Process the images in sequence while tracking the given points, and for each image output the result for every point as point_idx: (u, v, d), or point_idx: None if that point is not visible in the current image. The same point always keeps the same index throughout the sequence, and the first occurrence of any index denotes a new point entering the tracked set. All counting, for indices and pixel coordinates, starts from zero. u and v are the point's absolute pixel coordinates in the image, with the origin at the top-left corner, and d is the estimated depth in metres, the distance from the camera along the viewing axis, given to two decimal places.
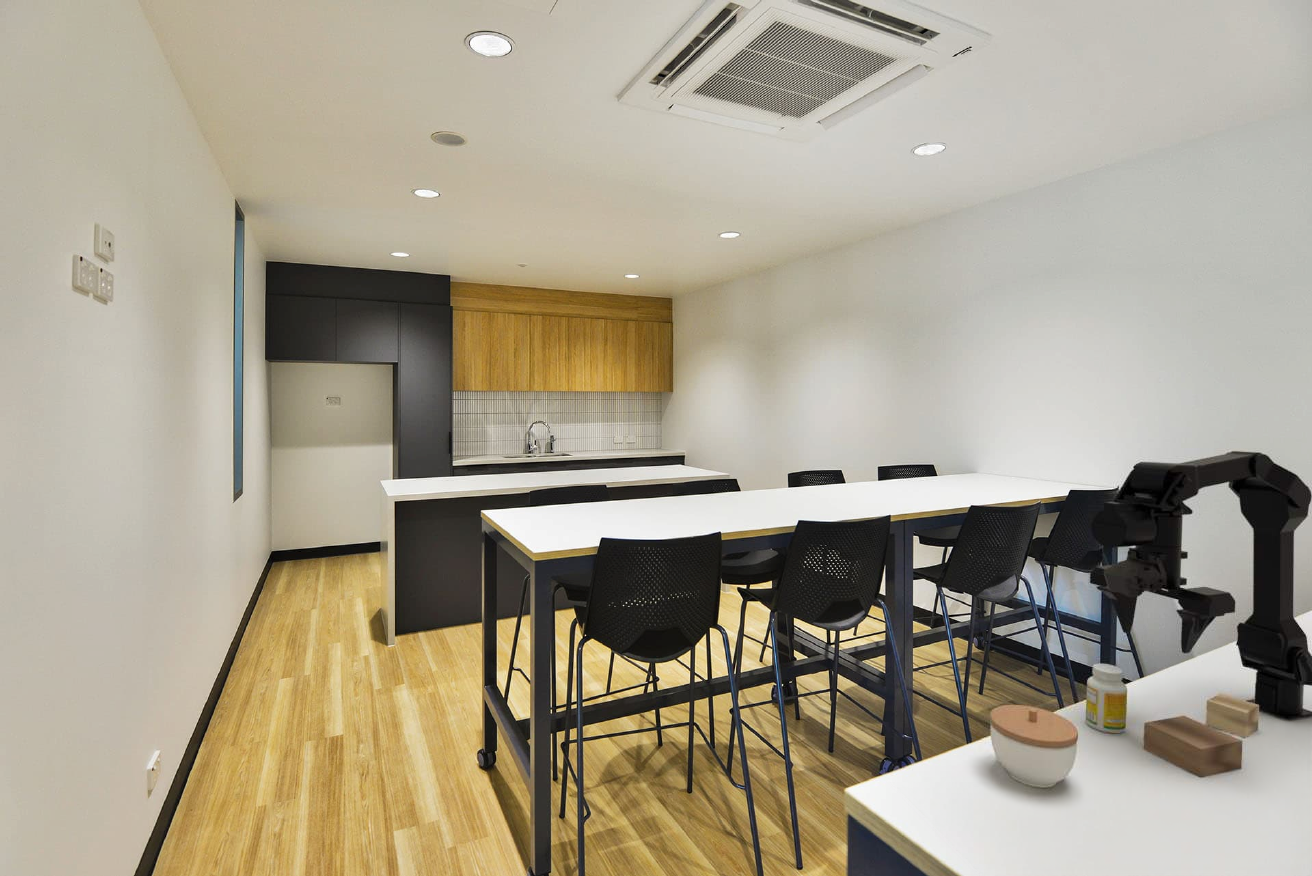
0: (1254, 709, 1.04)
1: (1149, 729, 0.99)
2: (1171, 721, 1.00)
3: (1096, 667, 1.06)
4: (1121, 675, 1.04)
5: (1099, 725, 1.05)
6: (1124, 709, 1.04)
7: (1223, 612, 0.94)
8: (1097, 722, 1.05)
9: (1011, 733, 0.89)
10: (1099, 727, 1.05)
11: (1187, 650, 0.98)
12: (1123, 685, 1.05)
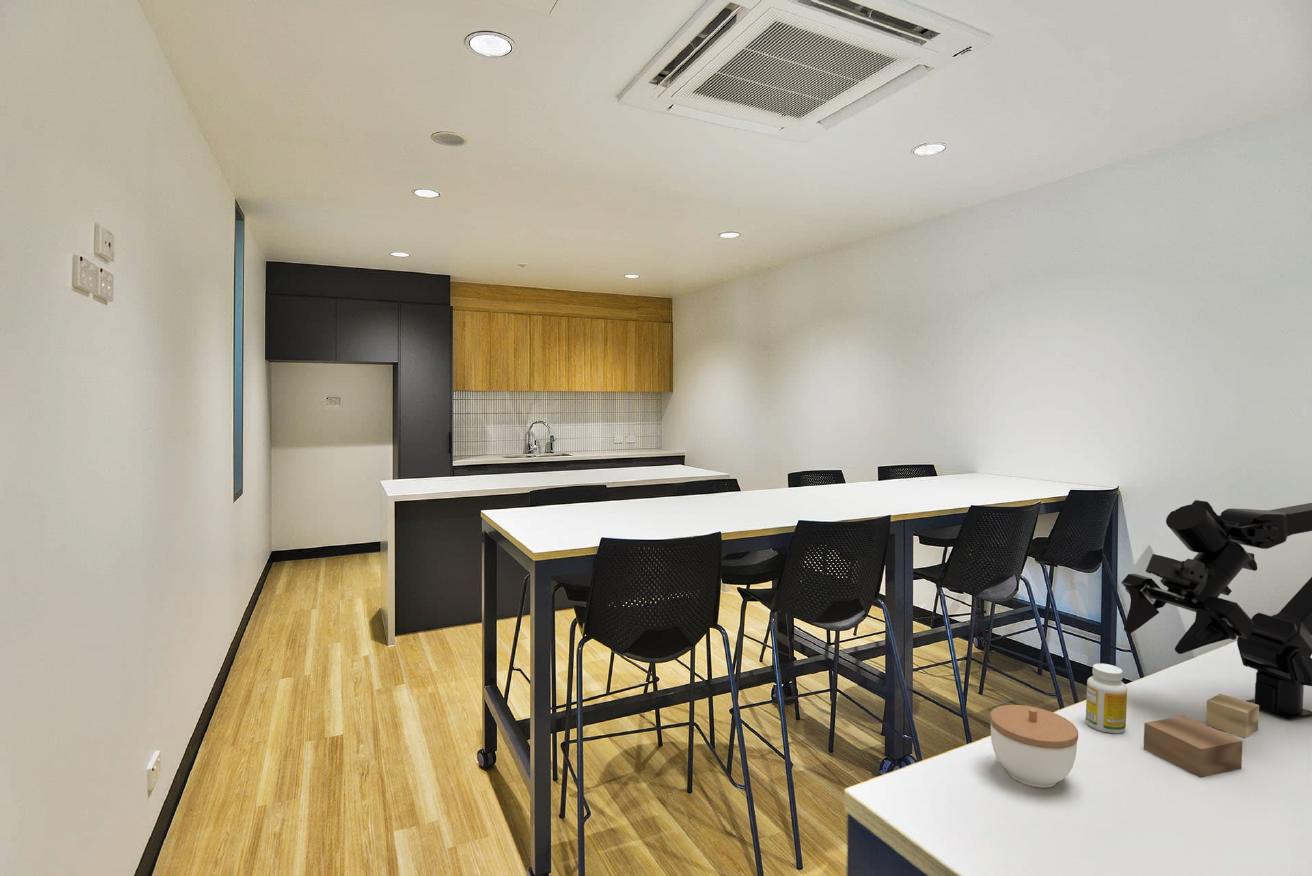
0: (1254, 709, 1.04)
1: (1149, 729, 0.99)
2: (1171, 721, 1.00)
3: (1096, 667, 1.06)
4: (1121, 675, 1.04)
5: (1099, 725, 1.05)
6: (1124, 709, 1.04)
7: (1239, 627, 0.99)
8: (1097, 722, 1.05)
9: (1011, 733, 0.89)
10: (1099, 727, 1.05)
11: (1180, 649, 1.02)
12: (1123, 685, 1.05)
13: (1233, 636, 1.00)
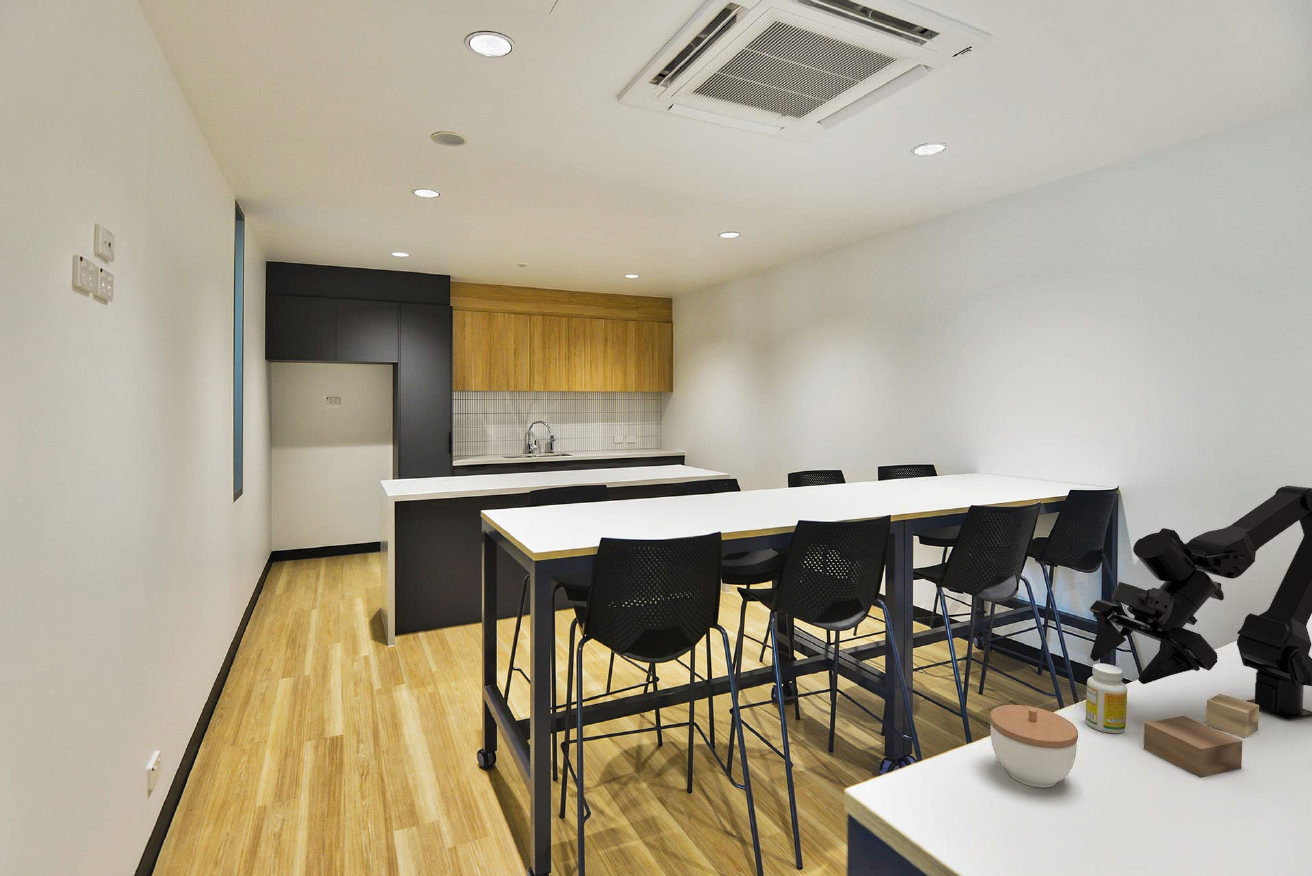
0: (1254, 709, 1.04)
1: (1149, 729, 0.99)
2: (1171, 721, 1.00)
3: (1096, 667, 1.06)
4: (1121, 675, 1.04)
5: (1099, 725, 1.05)
6: (1124, 709, 1.04)
7: (1202, 658, 0.98)
8: (1097, 722, 1.05)
9: (1011, 733, 0.89)
10: (1099, 727, 1.05)
11: (1143, 680, 1.01)
12: (1123, 685, 1.05)
13: (1196, 667, 0.99)
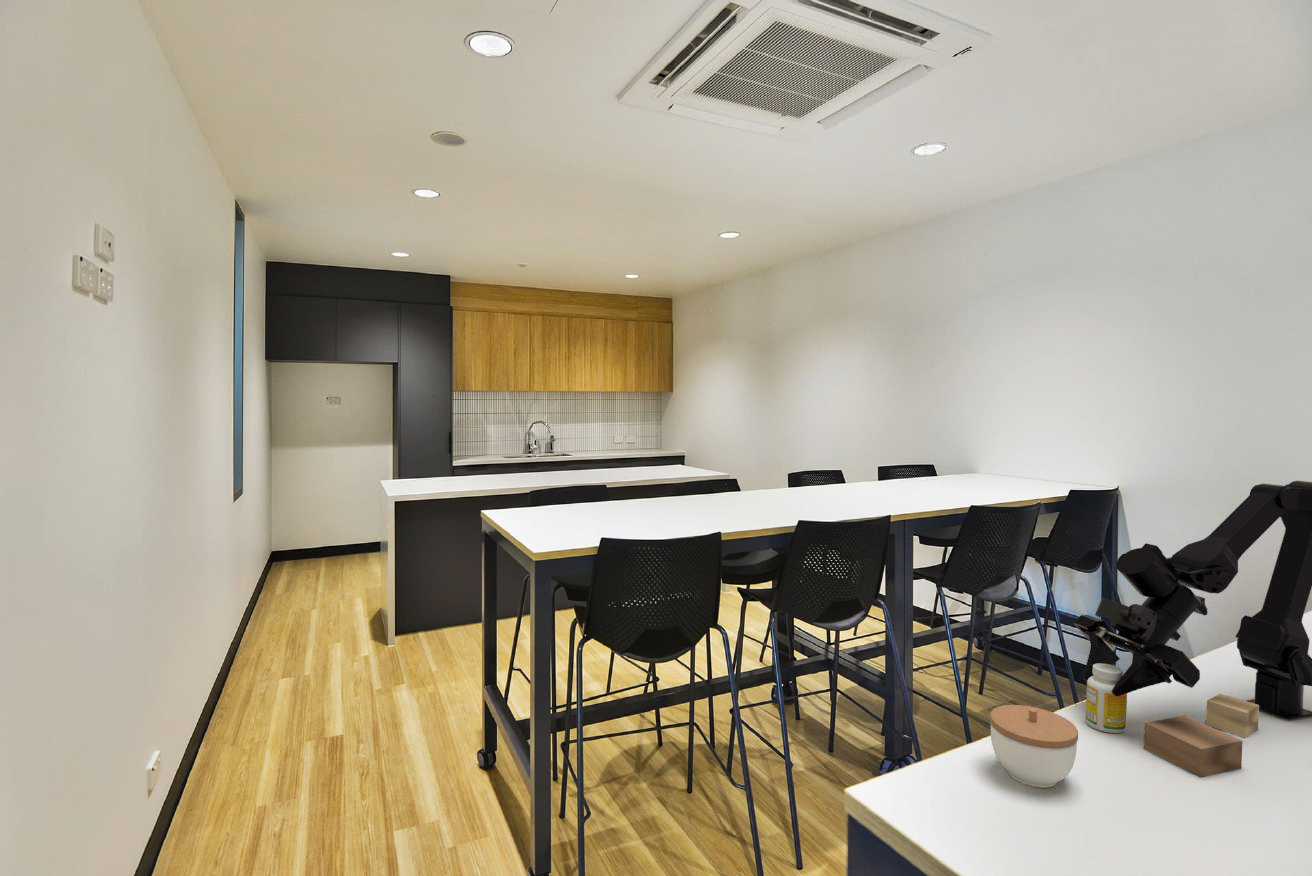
0: (1254, 709, 1.04)
1: (1149, 729, 0.99)
2: (1171, 721, 1.00)
3: (1096, 667, 1.06)
4: (1121, 675, 1.04)
5: (1099, 725, 1.05)
6: (1124, 709, 1.04)
7: (1184, 676, 0.97)
8: (1097, 722, 1.05)
9: (1011, 733, 0.89)
10: (1099, 727, 1.05)
11: (1117, 692, 1.03)
12: None
13: (1168, 680, 1.01)
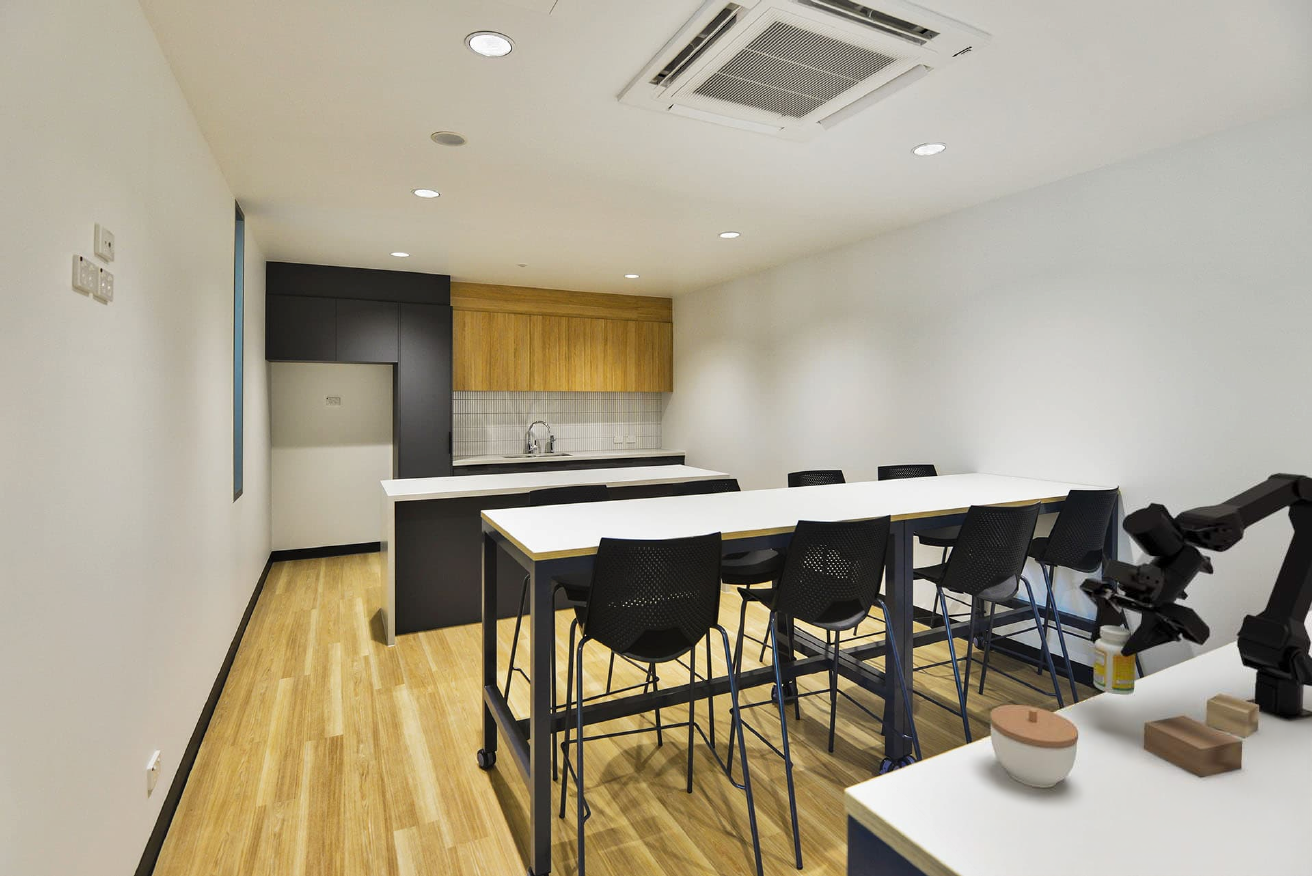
0: (1254, 709, 1.04)
1: (1149, 729, 0.99)
2: (1171, 721, 1.00)
3: (1104, 629, 1.05)
4: (1129, 636, 1.03)
5: (1108, 687, 1.04)
6: (1133, 670, 1.03)
7: (1195, 633, 0.96)
8: (1105, 684, 1.04)
9: (1011, 733, 0.89)
10: (1108, 689, 1.04)
11: (1126, 652, 1.02)
12: None
13: (1177, 638, 1.00)
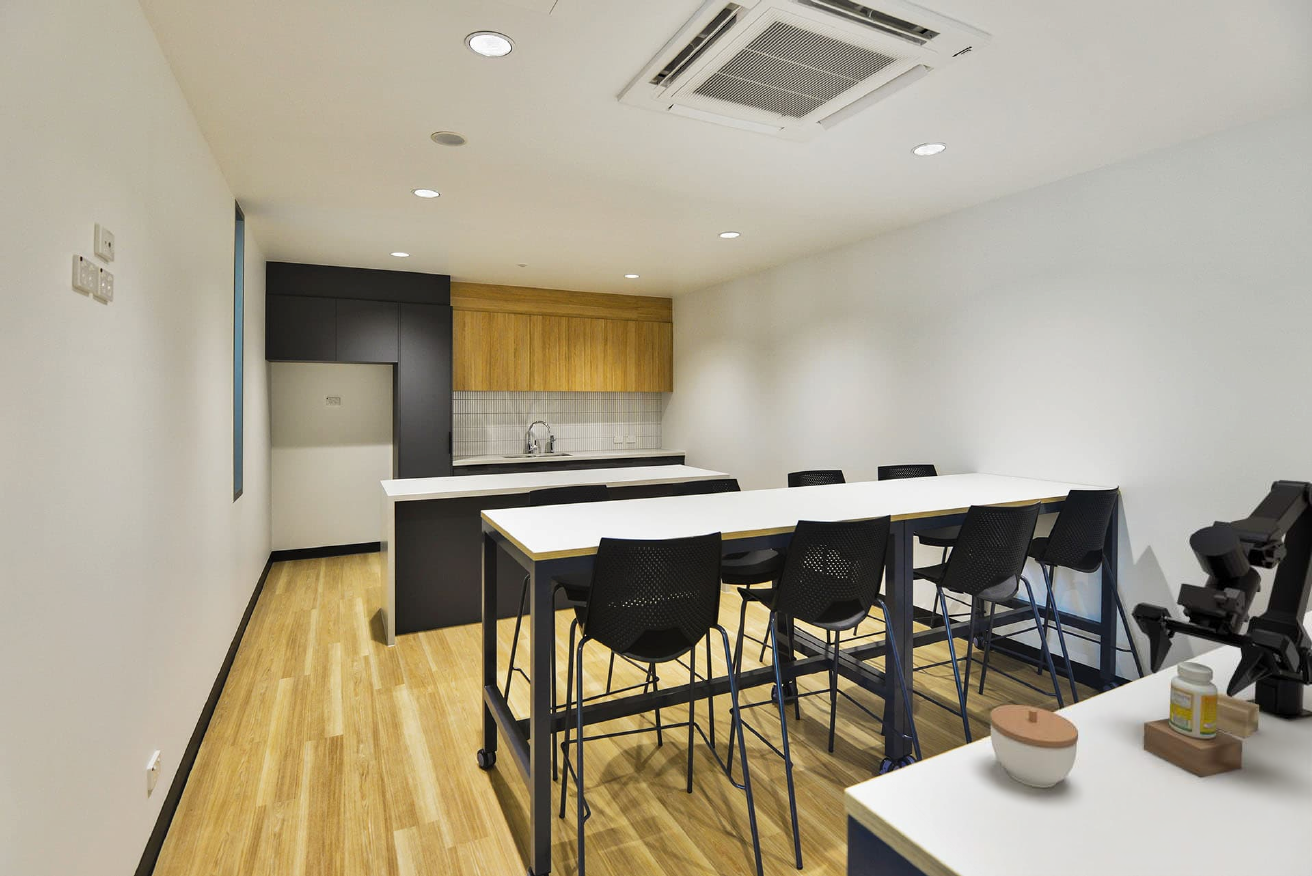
0: (1254, 709, 1.04)
1: (1149, 729, 0.99)
2: None
3: (1185, 667, 0.96)
4: (1212, 673, 0.95)
5: (1195, 732, 0.94)
6: (1216, 710, 0.95)
7: (1291, 662, 0.90)
8: (1192, 728, 0.95)
9: (1011, 733, 0.89)
10: (1195, 734, 0.94)
11: (1232, 692, 0.91)
12: (1213, 684, 0.95)
13: (1280, 671, 0.91)
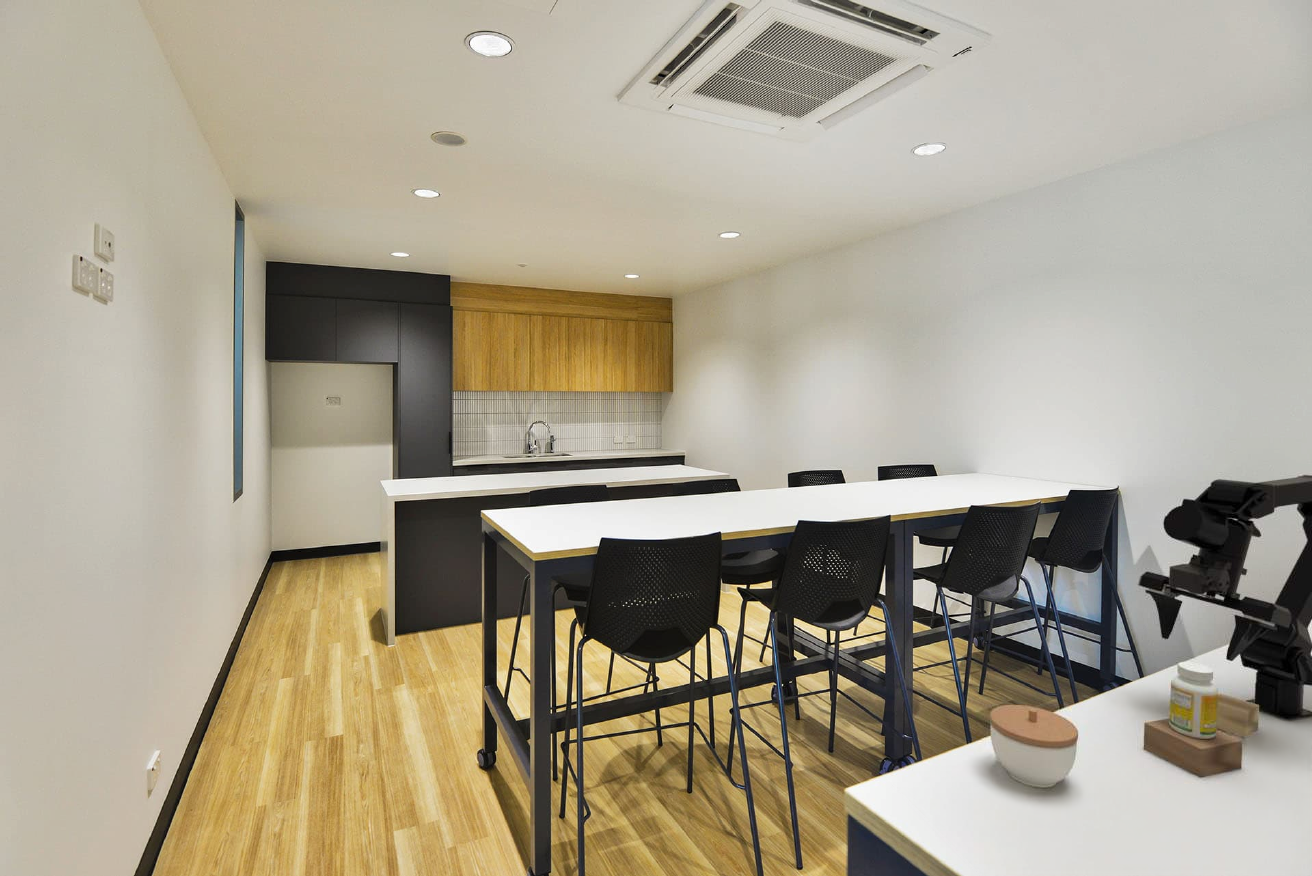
0: (1254, 709, 1.04)
1: (1149, 729, 0.99)
2: None
3: (1185, 667, 0.96)
4: (1212, 673, 0.95)
5: (1195, 732, 0.94)
6: None
7: (1280, 624, 0.98)
8: (1192, 728, 0.95)
9: (1011, 733, 0.89)
10: (1195, 734, 0.94)
11: (1231, 658, 1.01)
12: (1213, 684, 0.95)
13: (1274, 629, 1.00)
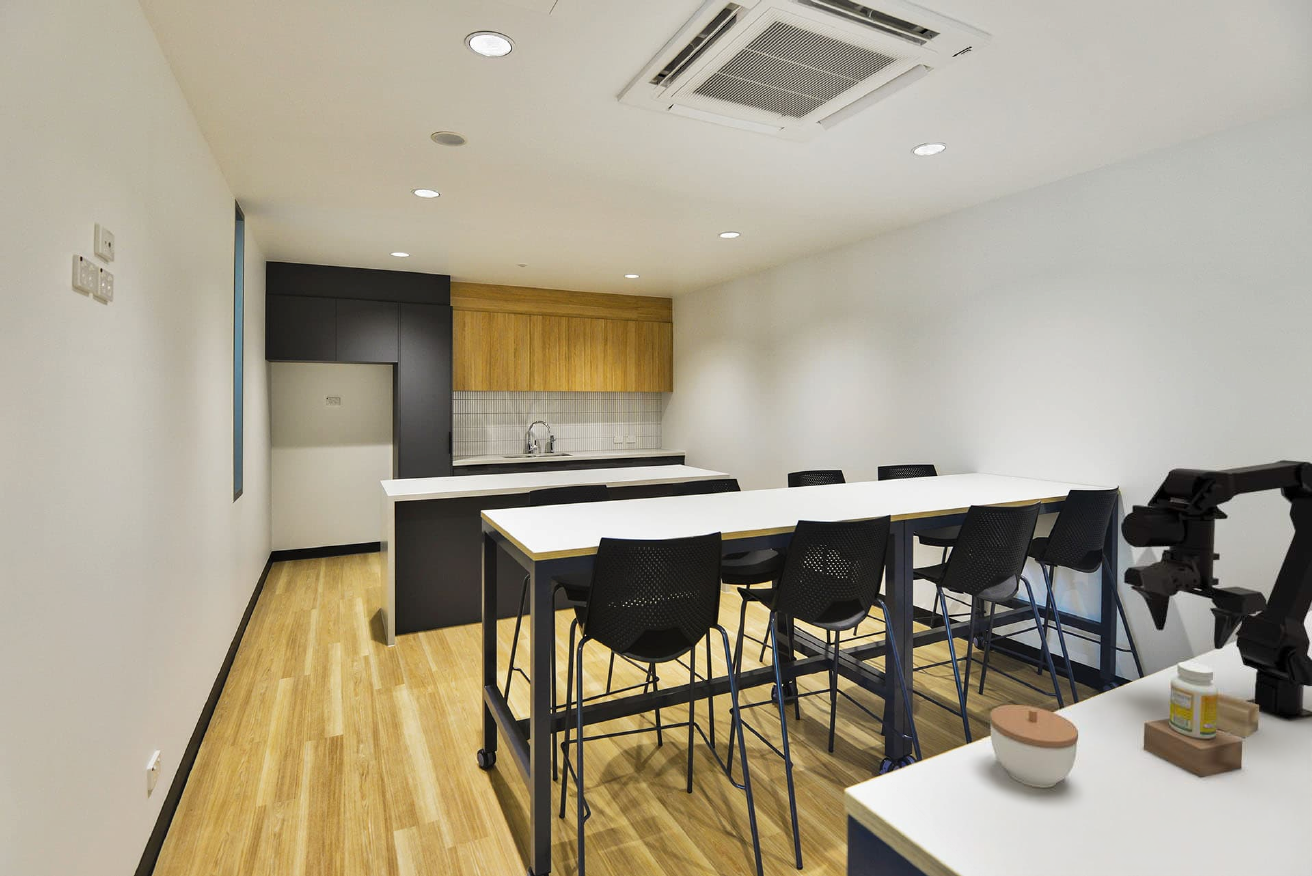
0: (1254, 709, 1.04)
1: (1149, 729, 0.99)
2: None
3: (1185, 667, 0.96)
4: (1212, 673, 0.95)
5: (1195, 732, 0.94)
6: None
7: (1255, 610, 1.00)
8: (1192, 728, 0.95)
9: (1011, 733, 0.89)
10: (1195, 734, 0.94)
11: (1220, 646, 1.05)
12: (1213, 684, 0.95)
13: (1253, 613, 1.02)
